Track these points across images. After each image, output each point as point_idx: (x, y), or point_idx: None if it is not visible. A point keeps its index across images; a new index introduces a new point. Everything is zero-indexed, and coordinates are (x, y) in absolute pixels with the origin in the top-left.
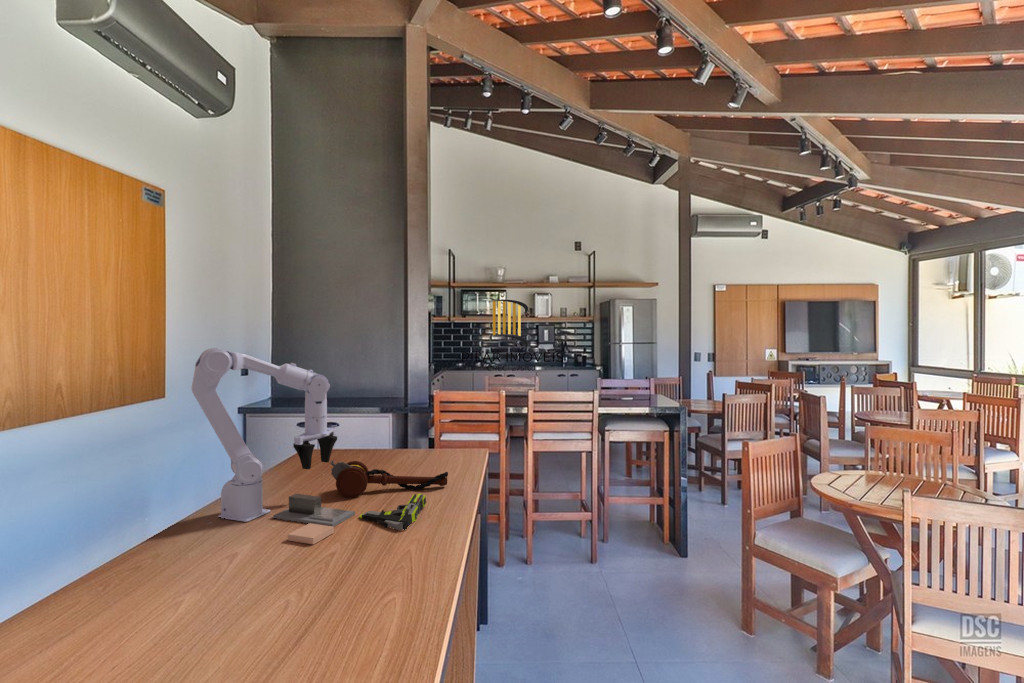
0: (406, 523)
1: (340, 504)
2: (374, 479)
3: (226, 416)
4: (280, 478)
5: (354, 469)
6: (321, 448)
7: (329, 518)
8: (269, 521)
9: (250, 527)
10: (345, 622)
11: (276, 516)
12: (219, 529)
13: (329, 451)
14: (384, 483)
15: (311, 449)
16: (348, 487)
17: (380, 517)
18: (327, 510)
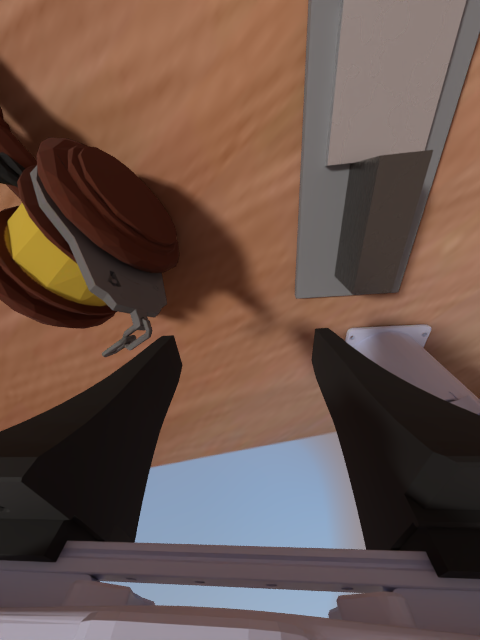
0: None
1: (228, 186)
2: (12, 144)
3: None
4: (163, 441)
5: (77, 196)
6: (154, 433)
7: (462, 9)
8: (415, 281)
9: (463, 292)
10: None
11: (399, 281)
12: (472, 342)
13: (138, 372)
14: None
15: (427, 416)
16: (154, 209)
17: None
18: (358, 125)
